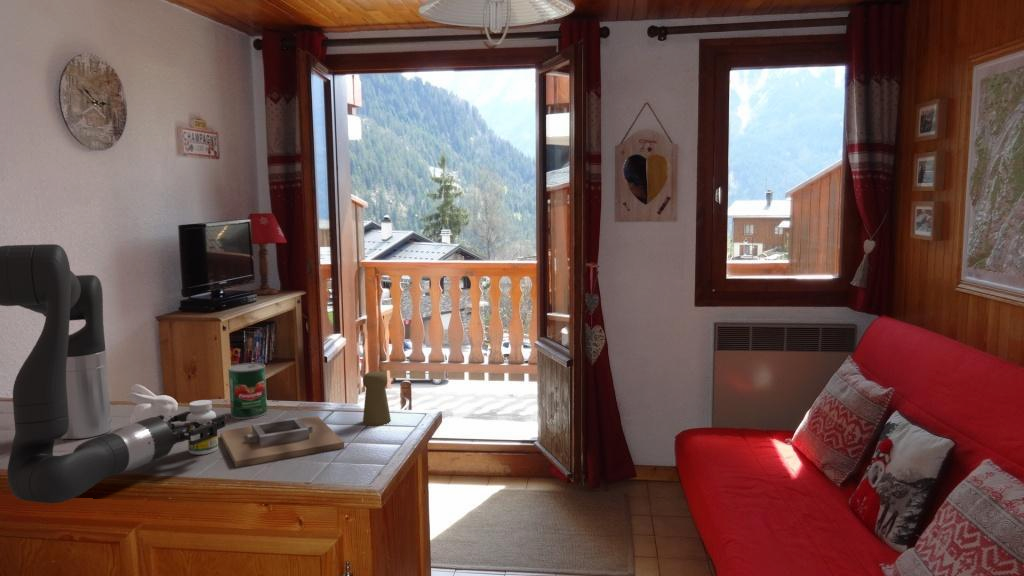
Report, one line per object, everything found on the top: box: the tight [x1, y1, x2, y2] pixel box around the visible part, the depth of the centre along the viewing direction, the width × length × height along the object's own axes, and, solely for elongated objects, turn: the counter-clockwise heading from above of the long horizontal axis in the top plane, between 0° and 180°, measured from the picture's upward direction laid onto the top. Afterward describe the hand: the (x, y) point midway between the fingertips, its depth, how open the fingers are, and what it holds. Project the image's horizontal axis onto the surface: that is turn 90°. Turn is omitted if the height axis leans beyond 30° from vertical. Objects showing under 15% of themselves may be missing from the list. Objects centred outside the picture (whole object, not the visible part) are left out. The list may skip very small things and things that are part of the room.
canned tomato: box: [227, 362, 268, 420], centre depth 165 cm, size 8×8×11 cm
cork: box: [362, 371, 392, 427], centre depth 158 cm, size 6×6×11 cm
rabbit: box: [127, 384, 179, 425], centre depth 147 cm, size 12×9×12 cm
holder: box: [219, 415, 345, 468], centre depth 145 cm, size 20×20×3 cm
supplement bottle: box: [186, 399, 219, 456], centre depth 141 cm, size 5×5×10 cm
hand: (207, 418), depth 142 cm, fingers open, 8 cm apart
